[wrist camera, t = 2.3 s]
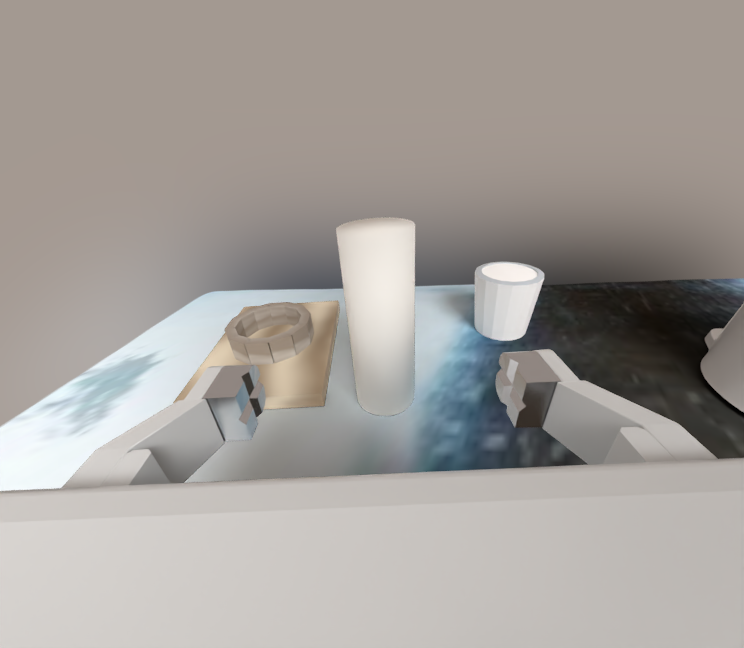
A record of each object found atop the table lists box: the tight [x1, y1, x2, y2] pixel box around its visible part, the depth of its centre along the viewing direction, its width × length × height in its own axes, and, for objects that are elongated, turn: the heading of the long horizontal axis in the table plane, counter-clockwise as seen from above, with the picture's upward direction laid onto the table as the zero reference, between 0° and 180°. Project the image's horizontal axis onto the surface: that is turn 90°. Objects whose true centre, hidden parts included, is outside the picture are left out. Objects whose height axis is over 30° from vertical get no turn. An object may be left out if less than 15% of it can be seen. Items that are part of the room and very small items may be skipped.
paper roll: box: [336, 217, 415, 416], centre depth 24 cm, size 5×5×15 cm
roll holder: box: [173, 301, 340, 410], centre depth 34 cm, size 13×18×4 cm
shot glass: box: [475, 262, 544, 341], centre depth 34 cm, size 7×7×7 cm
